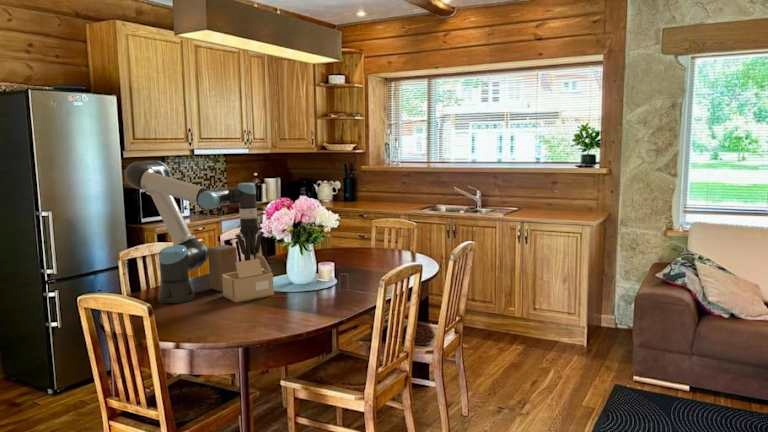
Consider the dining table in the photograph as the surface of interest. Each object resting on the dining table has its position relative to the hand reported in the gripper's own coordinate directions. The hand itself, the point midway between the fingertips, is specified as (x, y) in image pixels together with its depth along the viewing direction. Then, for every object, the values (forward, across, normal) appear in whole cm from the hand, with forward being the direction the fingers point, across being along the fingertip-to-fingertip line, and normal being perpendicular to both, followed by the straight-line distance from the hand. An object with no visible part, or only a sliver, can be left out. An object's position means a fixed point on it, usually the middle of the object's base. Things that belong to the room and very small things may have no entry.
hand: (251, 269), depth 262 cm
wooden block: (+12, -6, +19) cm, 23 cm away
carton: (+12, -3, -1) cm, 12 cm away
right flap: (-2, +5, -1) cm, 5 cm away
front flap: (-2, -4, -6) cm, 8 cm away
